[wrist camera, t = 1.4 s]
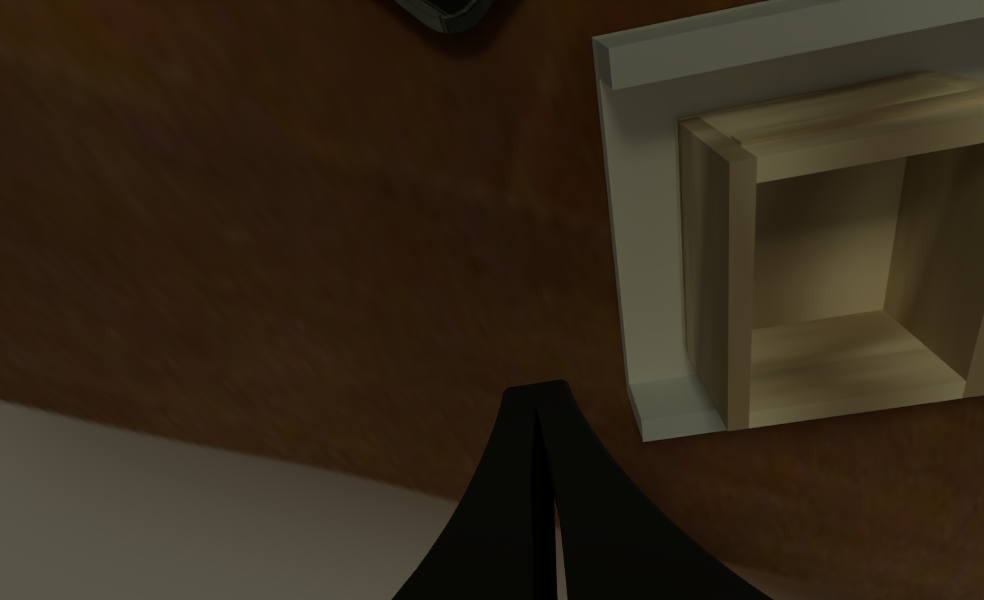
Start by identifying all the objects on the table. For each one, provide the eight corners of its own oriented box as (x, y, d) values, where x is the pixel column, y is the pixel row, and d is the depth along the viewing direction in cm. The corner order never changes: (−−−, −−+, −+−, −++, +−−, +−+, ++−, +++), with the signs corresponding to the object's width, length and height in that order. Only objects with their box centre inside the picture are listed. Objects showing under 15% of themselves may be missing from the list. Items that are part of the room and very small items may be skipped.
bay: (1260, -102, 15) (1782, -152, 9) (1099, 325, 21) (1342, 466, 15) (591, 37, 17) (649, 74, 11) (627, 396, 23) (676, 548, 17)
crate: (929, 65, 16) (1068, 95, 12) (888, 314, 20) (984, 397, 16) (674, 115, 17) (729, 157, 13) (683, 346, 21) (727, 434, 17)
